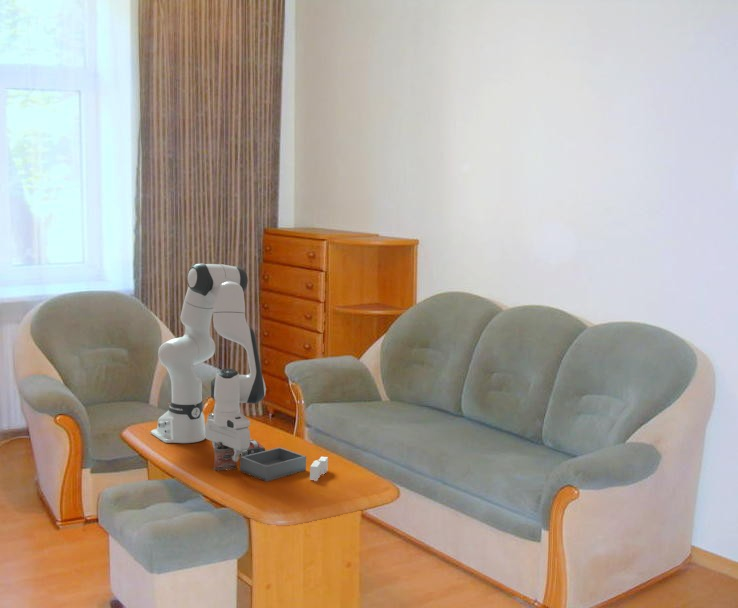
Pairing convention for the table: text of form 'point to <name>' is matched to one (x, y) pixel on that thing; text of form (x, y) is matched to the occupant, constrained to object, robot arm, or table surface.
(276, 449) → the grey tray
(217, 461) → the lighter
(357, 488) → the table surface
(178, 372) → the robot arm
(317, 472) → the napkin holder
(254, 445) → the walkie-talkie
